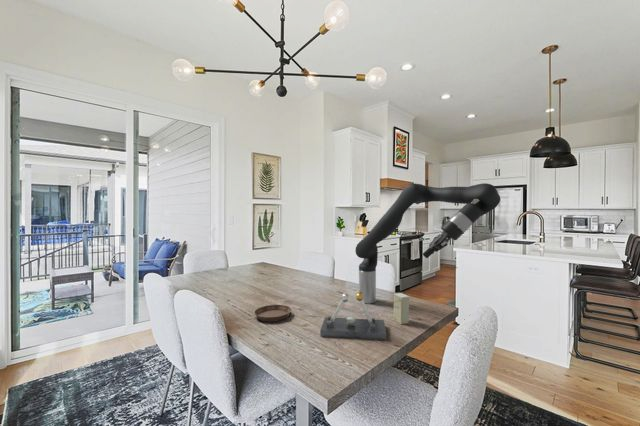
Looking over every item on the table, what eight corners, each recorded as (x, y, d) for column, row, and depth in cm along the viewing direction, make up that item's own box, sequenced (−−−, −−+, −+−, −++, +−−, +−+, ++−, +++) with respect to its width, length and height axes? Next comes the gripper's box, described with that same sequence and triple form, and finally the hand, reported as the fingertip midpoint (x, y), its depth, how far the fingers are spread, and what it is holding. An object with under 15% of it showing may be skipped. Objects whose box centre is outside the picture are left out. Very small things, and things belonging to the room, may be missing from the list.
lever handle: (369, 323, 125) (355, 293, 125) (374, 321, 125) (361, 291, 125) (369, 327, 121) (355, 296, 122) (374, 324, 121) (361, 293, 121)
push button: (347, 321, 126) (346, 316, 126) (355, 321, 126) (355, 317, 126) (346, 324, 123) (346, 320, 123) (355, 324, 122) (355, 320, 122)
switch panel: (325, 322, 133) (325, 312, 133) (384, 325, 129) (383, 315, 129) (320, 336, 119) (320, 325, 119) (386, 340, 115) (386, 328, 115)
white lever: (328, 318, 128) (344, 291, 126) (333, 322, 127) (349, 295, 126) (327, 322, 124) (343, 294, 122) (332, 325, 123) (349, 297, 122)
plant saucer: (252, 312, 147) (252, 306, 147) (286, 308, 153) (286, 302, 153) (257, 326, 131) (257, 319, 131) (295, 320, 137) (295, 313, 137)
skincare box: (393, 319, 136) (392, 293, 136) (401, 318, 137) (401, 292, 137) (401, 324, 130) (401, 297, 130) (409, 323, 132) (409, 296, 131)
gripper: (445, 218, 124) (414, 247, 126) (454, 220, 111) (420, 252, 113) (458, 231, 123) (428, 260, 125) (469, 234, 110) (435, 266, 112)
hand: (424, 256), depth 119 cm, fingers closed
